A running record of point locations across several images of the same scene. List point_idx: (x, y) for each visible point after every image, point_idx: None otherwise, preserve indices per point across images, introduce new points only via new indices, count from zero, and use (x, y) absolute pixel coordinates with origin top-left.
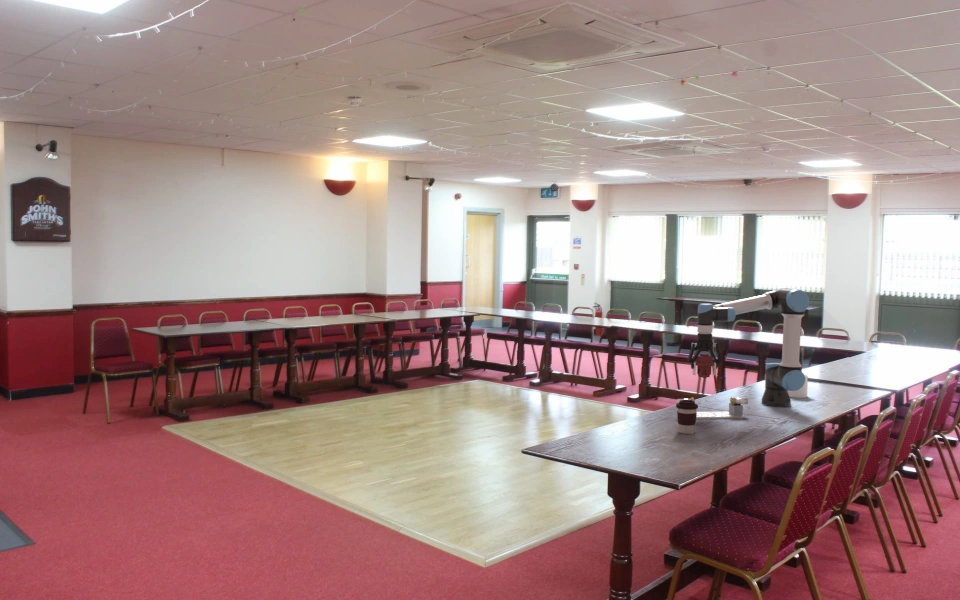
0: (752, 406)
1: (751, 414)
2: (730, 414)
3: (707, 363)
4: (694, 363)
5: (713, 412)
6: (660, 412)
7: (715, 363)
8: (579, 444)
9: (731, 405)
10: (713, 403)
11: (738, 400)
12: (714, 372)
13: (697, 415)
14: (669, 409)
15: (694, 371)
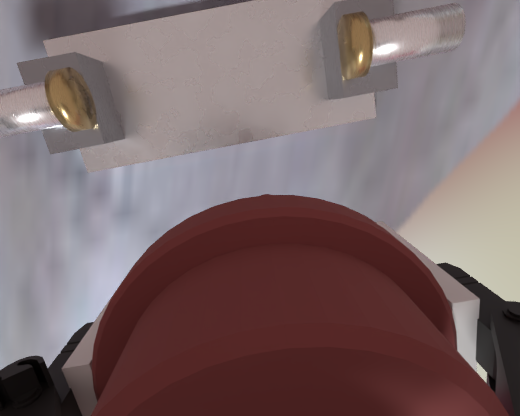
0: (8, 330)
1: (11, 152)
2: (120, 86)
3: (243, 215)
4: (471, 294)
5: (207, 129)
6: (465, 143)
7: (75, 360)
8: None
9: (94, 102)
10: None
11: (27, 86)
12: None
13: (304, 36)
14: (405, 216)
15: (398, 237)
